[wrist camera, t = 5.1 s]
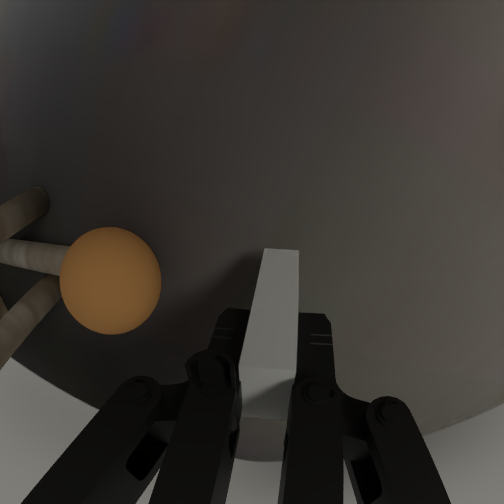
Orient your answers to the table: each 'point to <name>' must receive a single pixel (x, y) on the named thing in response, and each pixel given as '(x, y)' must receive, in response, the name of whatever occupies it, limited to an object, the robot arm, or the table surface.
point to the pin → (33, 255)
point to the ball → (110, 280)
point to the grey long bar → (2, 308)
